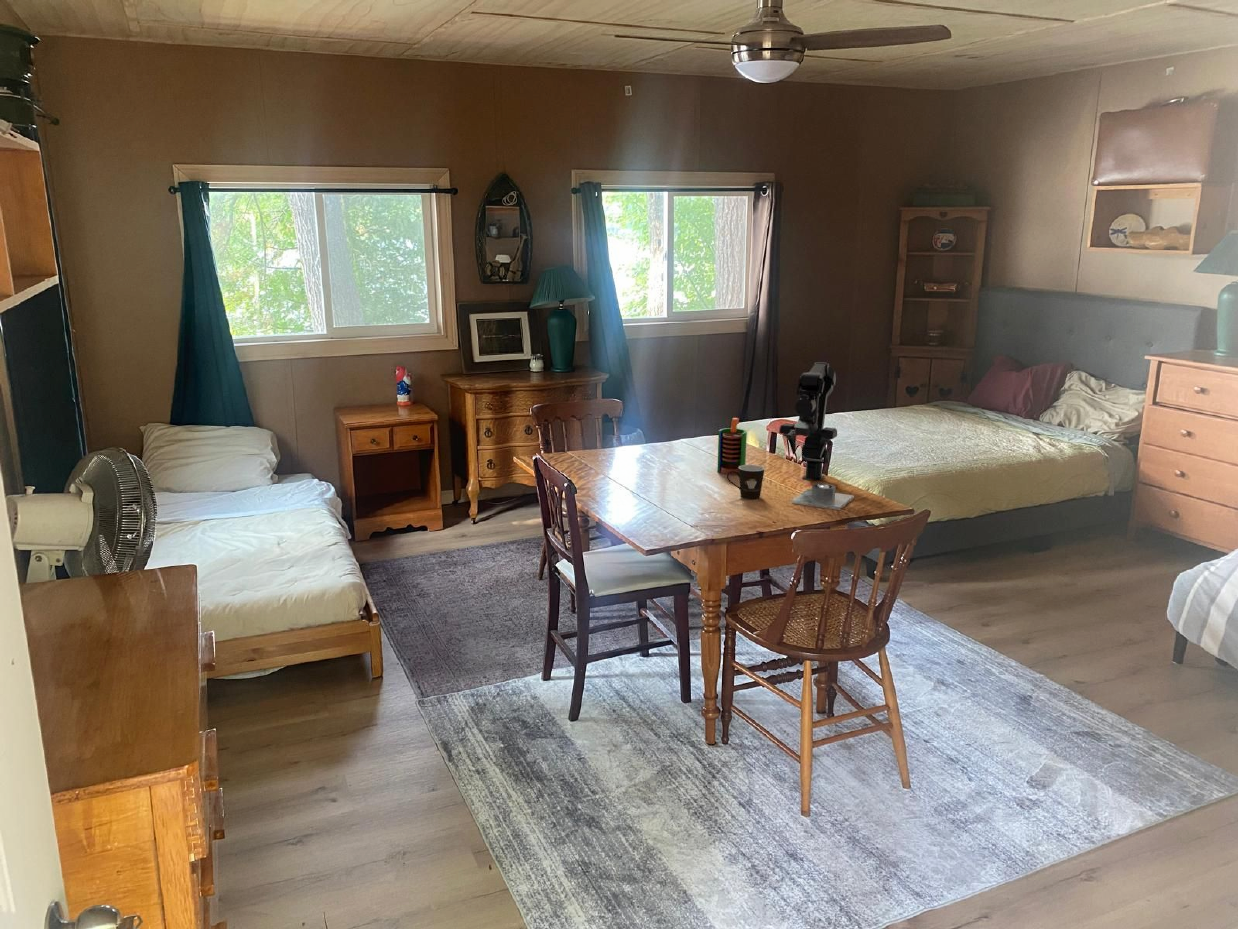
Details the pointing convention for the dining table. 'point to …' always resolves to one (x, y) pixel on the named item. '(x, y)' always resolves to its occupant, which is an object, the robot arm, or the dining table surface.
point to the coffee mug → (749, 481)
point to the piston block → (835, 504)
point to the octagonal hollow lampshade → (823, 492)
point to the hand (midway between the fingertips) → (806, 455)
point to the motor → (731, 448)
